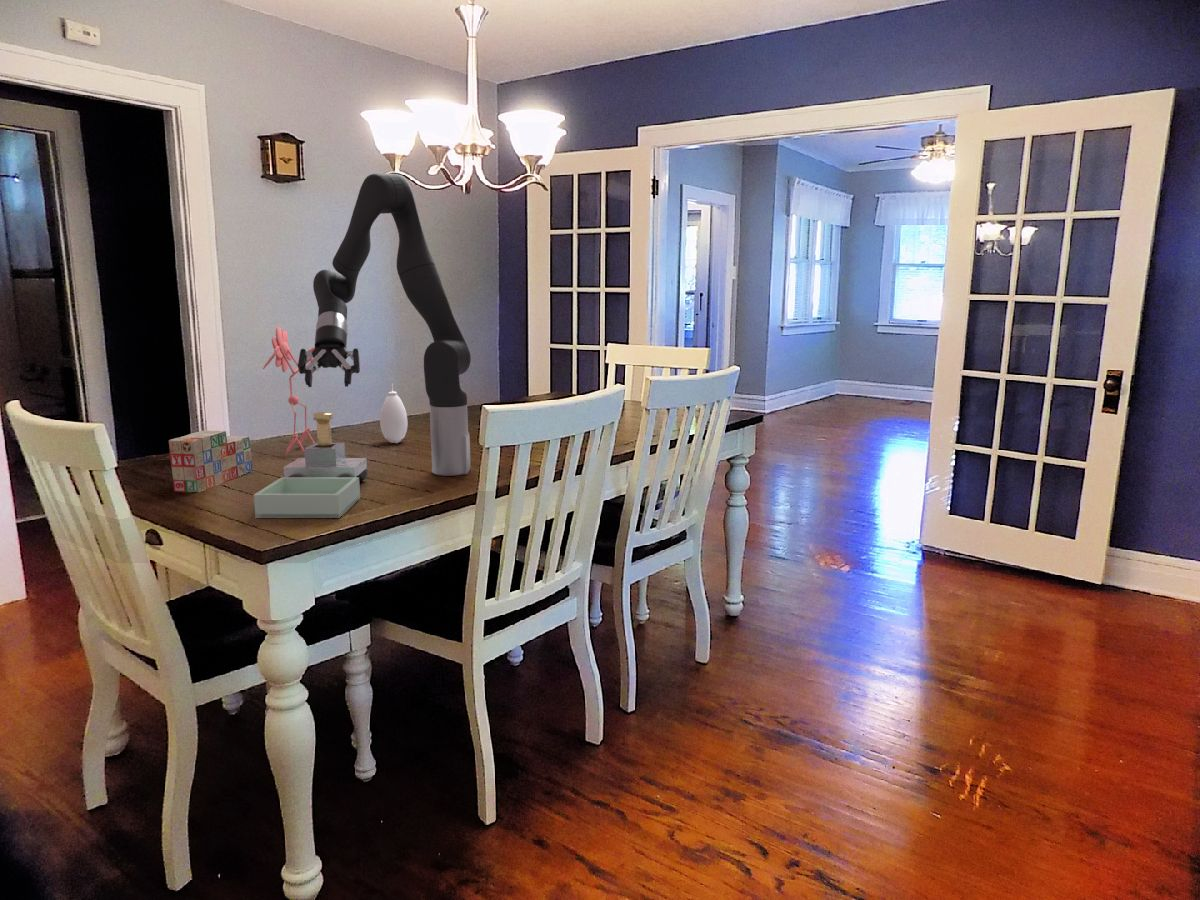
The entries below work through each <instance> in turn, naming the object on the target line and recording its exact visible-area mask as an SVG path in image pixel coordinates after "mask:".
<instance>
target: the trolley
mask: <svg viewBox="0 0 1200 900" xmlns="http://www.w3.org/2000/svg"><path fill="white" fill-rule="evenodd" d="M304 450H305V454H304V457H298V458H297V459H295V460H294V461H292V462H290V463H288V464H286V465H284V466H283V467H282V468H283V477H359V483H361V482H363V481H364V480H366V478H367V477H368V475H369V470H368V465H367V464H368V463H367V457H346V447H345V442H332V447H318V442H315V443H313V442H312V444H310V445H308V446H306V447H304Z"/></svg>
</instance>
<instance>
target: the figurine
mask: <svg viewBox="0 0 1200 900" xmlns="http://www.w3.org/2000/svg"><path fill="white" fill-rule="evenodd" d="M288 335H289V334H288V331H287V330H283V332H282V328H281V327H280V326H278V327H276V329H275V337H276V338H275V337H274V336H272V337H271V345H272V348H273V349H274V350H273V353H272V355H271V356H270V357H269V358H268V360H267V361H266V363H265V364H264V365H263V368H262V369H263V370H265V369H266V367H267V366H268V365H269V364H270V363H271V361H272V360H273V359H275V361H274V362H275V363H274V364H275V367H276V368H279V367H281V371H282V372H283V373H286V371H287V370H288V367H289V369H290V372H291V373H292V374H291V375H290V376H289V378H288V380H289V381H288V383H289V390H290V392H289V393H290V396H289V397H288V399H287V400H288V401H287V402H288V403H289V404H290V405H291V408H292V411H293V412H294V416H293V419H294V422H293V423H294V425H293V436H292V439H291V440H290V441H289V444H288V446H287V449H286V452H285V454H284V455H285V456H287V455H288V454H289V453H290V452H291V450H292V449H293V448H294V445H295V444H296V442H297V445H298V447H300V449H301V450H302V452H303V454H304V455H305V450H304V449H305V447H303V445H302V444H304V442H305V440H306V439H307V438H309V439H310V441H311V442H312V444H313V443H316V442H315V441H314V439H313V437H312V436H311V434H310V431H311V429H310V428H309V427H307V405H305V404H302V403H300V399H299V398H298V396H296V395H293V386H292V385H293V384H292V378H293V377H294V376H295V375H296V374H298V372H299V369H298V362H297V359H296V358H295V357H294V355H293V354H292V351H291V349H290V346H289V345H290V344H289V342H288V341H289V337H288ZM313 350H314V347H312V348H310V349H308V350H307V351H311V352H312V351H313ZM312 359H313V357H310V358H309V360H308V361H306V365H308V364H309V363H310V362H311V360H312ZM292 360H293V362H294V363H295V365H296V367H297V368H296V369H293V367H292V365H291V363H290V361H292ZM297 404H298V405H300V406H302V407H304V425H305V427H304V429H305V430H304V432H303V433H302V434H301V436H300V438H299V439H298V435H299V434H298V433H296V423H297V422H296V421H297V420H296V419H297V418H296V417H297V412H296V409H295V407H294V406H296V405H297Z"/></svg>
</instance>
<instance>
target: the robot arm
mask: <svg viewBox="0 0 1200 900" xmlns="http://www.w3.org/2000/svg"><path fill="white" fill-rule="evenodd" d="M381 214H390V215H392V217H393V220H394V223H395V226H396V229H397V233H398V247H397V256H396V270H397V274H398V277H399V280H400V283H401V285H402V289H403V290H404V293H405V296H406V297H407V299H408V300H409V302H410V303H411V304H412V306H413V307H414V309H415V310H416V311H417V313H418V314H419V315H420V316H421V317H422V319H423V320H424V322H425V323H426V325H427V327H428V329H429V331H430V334H431V336H432V339H433V342H431V343H430V344H429V345H428V346H427V347H426V349H425V352H424V355H423V373H424V384H425V385H424V386H425V392H426V394H427V397H428V401H429V421H430V423H429V424H430V427H429V428H430V449H431V473H432V474H433V475H437V476H446V477H447V476H461V475H468V474H469V472H470V471H471V441H470V440H471V436H470V432H469V426H468V424H469V422H468V415H469V414H468V395H467V393H466V392H465V391H464V390H462V388H461V384H460V383H461V382H460V375H463V374H465V373H466V372H468V370H469V367H470V366H471V359H472V355H471V351H470V349H469V346H468V344H467V341H466V340H465V337H464V336H463V334H462V332H461V329H460V328H459V325H458V323H457V321H456V319H455V317H454V314H453V312H452V309H451V306H450V303H449V300H448V297H447V294H446V292H445V290H444V287H443V284H442V280H441V277H440V274H439V272H438V269H437V266H436V263H435V261H434V259H433V256H432V254H431V251H430V248H429V245H428V241H427V239H426V236H425V233H424V230H423V226H422V223H421V220H420V216H419V211H418V208H417V204H416V201H415V196H414V192H413V190H412V186H411V185H410V183H409V182H408V180H407V179H406V178H405V176H403V175H402V174H397V173H379V172H378V173H372V174H369V175H368V176H366V177H365V179H364V180H363V182H362V184H361V187H360V189H359V192H358V195H357V198H356V201H355V204H354V208H353V211H352V215H351V218H350V221H349V225H348V228H347V229H346V234H345V236H344V238H343V240H342V242H341V243H340V245H339V247H338V248H337V251H336V253H335V255H334V257H333V259H332V264H331V265H332V267H333V269H334V271H331V270H327V269H321V270H320V271H318V272H316V274H315V276H314V278H313V282H312V284H313V285H312V286H313V293H314V296H315V300H316V304H317V307H318V311H317V313H318V315H317V321H316V326H315V336H314V347H313V348H314V350H313V351H312V352H311V351H308V350H306V349H305V348H301V349H300V351H299V357H298V362H297V363H298V366H297V368H298V369H299V371H298V372H299V374H301V375H302V374H304V383H305V385H306V386H307V387H308V388H312V387H313V374H314V373H316V372H318V371H319V370H321V369H322V368H324V369H328V368H333V369H335V368H336V369H337V367H339V368H340V370H341V371H343V372H344V378H343V379H344V381H343V382H344V387H349V385H351V384H352V377H353V376H352V375H353V374H359V373H360V371H361V369H360V353H359V349H358V348H353V350H349V351H348V350H347V342H348V340H347V339H348V324H347V323H348V322H347V319H348V306H347V304H348V303H350V302H351V301H352V300H353V299H354V297H355V293H356V288H357V280H358V277H359V273H360V271H361V270H362V268H363V266H364V264H365V263H366V260H367V259H368V256H369V254H370V251H371V228H372V226H373V224H374V223H375V221H376V219H377V218H378V217H379V215H381ZM335 271H336V272H335ZM310 357H313V359H312V360H311V361H310V362H309V363H307V364H306V361H308V360H309V358H310ZM348 357H349V358H350V359H351V361H353V364H352V365H350V364H349V363H348V361H347V359H348Z"/></svg>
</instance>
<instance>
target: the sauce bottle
mask: <svg viewBox="0 0 1200 900" xmlns="http://www.w3.org/2000/svg"><path fill="white" fill-rule="evenodd" d="M382 403H383V404H382V406H381V410H380V417H379V418H380V419H379V425H380V431H381V433H382V435H383V437H384V439H385V440H388V442H389V443H391V444H392V443H396V444H398V443H400V442H401V441H402V440H403V439H404V438H405V436H406V434H407V431H408V414H407V411H406V408H405V405H404V403H403V401H402V399H401V397H400V396H399V395H398V392H397V391H395V390H394V384H393V383H391V391H389V392H387V396H386V397H385V399H384V402H382Z"/></svg>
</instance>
